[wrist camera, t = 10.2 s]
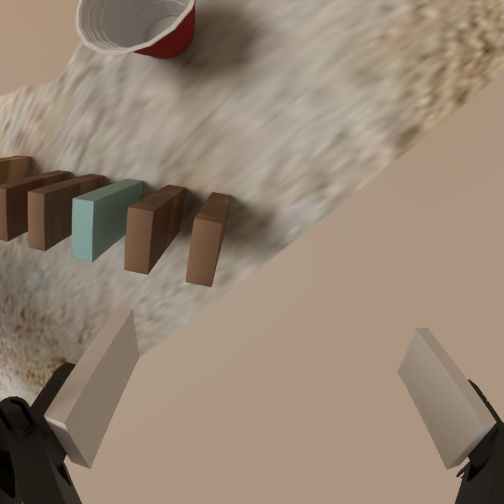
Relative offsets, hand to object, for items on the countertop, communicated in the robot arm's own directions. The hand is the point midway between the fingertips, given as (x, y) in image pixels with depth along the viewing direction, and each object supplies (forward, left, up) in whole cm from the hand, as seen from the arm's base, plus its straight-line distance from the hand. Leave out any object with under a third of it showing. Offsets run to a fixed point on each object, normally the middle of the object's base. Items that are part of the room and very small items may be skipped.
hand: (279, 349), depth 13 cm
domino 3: (-14, +5, -22) cm, 26 cm away
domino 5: (-4, +2, -22) cm, 22 cm away
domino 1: (-23, +8, -22) cm, 33 cm away
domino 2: (-18, +7, -22) cm, 29 cm away
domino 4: (-9, +3, -22) cm, 24 cm away
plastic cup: (-7, +23, -22) cm, 33 cm away
